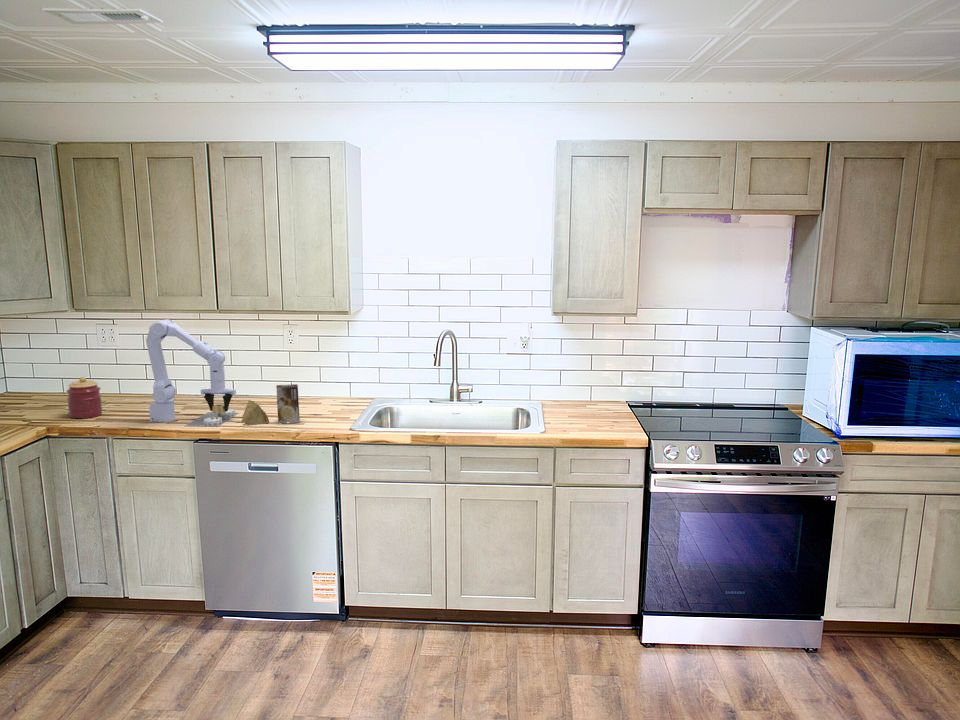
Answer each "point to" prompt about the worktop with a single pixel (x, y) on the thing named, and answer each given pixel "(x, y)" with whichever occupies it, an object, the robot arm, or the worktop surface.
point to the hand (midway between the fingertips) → (219, 410)
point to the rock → (254, 414)
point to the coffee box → (288, 403)
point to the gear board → (208, 415)
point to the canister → (84, 399)
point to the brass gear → (218, 408)
